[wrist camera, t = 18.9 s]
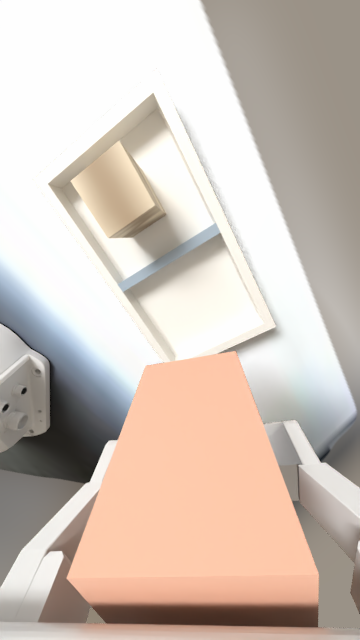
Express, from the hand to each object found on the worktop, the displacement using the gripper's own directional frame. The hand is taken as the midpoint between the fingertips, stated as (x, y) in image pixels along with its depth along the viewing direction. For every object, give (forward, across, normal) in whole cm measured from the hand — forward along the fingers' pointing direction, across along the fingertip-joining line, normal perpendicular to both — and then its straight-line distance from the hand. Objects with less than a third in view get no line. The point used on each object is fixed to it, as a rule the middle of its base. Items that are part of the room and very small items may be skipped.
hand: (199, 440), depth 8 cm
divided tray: (+19, +2, -6) cm, 20 cm away
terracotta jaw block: (+3, 0, 0) cm, 3 cm away
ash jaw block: (+18, +4, -12) cm, 22 cm away
